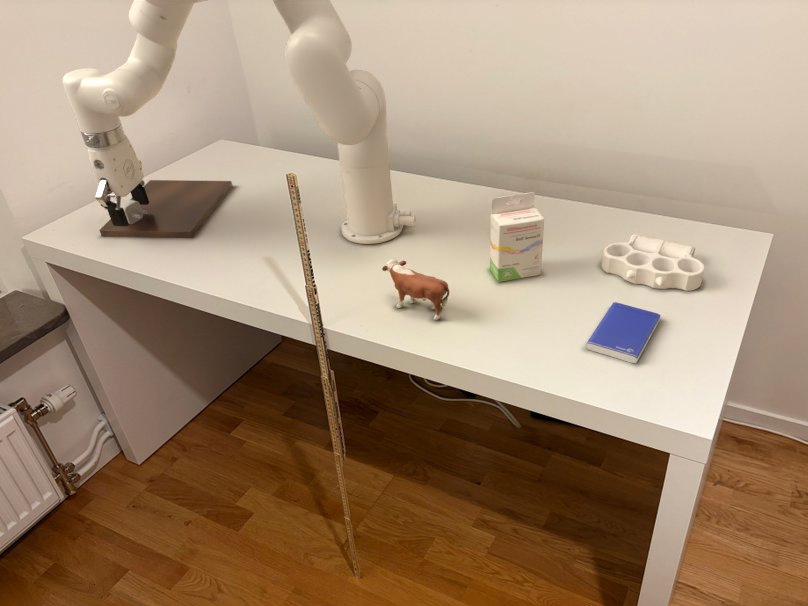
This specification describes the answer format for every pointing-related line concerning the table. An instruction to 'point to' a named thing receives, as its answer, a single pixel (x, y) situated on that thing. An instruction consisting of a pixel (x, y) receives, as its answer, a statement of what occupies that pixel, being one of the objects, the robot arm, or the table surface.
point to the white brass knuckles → (654, 263)
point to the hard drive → (623, 332)
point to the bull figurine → (417, 286)
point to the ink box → (516, 237)
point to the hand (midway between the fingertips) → (132, 214)
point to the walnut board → (173, 209)
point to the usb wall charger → (132, 210)
